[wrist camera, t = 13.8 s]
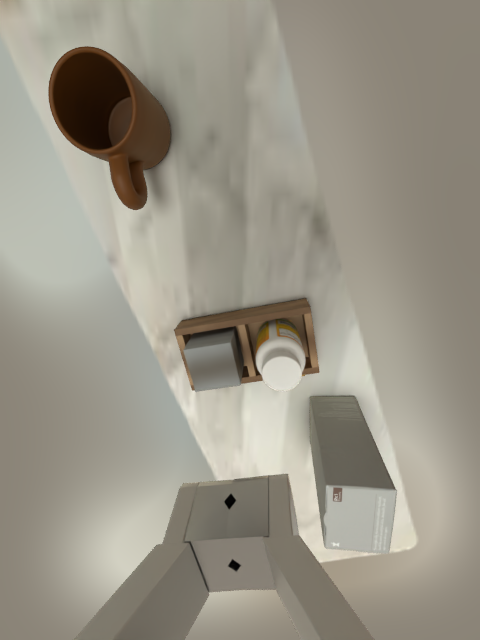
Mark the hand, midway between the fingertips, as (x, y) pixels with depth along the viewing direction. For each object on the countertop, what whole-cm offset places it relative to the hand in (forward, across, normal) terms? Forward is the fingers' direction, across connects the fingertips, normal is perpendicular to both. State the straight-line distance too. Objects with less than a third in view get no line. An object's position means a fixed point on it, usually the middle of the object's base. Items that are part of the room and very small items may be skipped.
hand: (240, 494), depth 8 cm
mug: (+31, +10, -16) cm, 36 cm away
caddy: (+30, +3, +8) cm, 31 cm away
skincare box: (+30, -6, +22) cm, 38 cm away
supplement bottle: (+30, -1, +8) cm, 31 cm away
